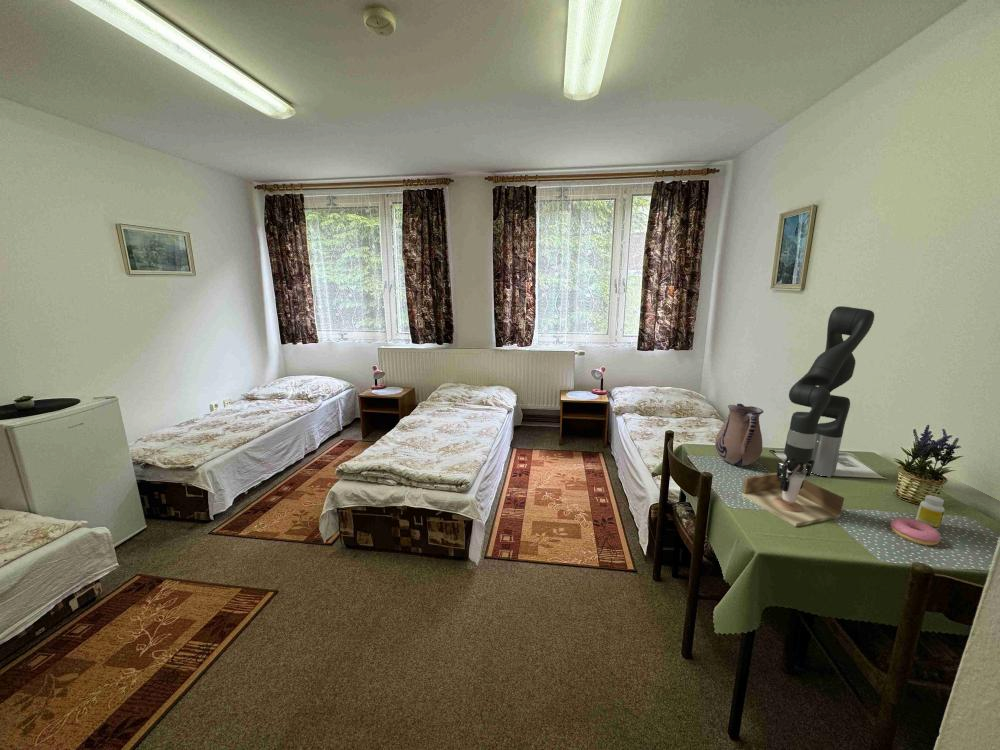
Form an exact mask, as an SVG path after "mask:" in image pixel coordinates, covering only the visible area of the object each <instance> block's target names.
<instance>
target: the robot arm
mask: <svg viewBox="0 0 1000 750" xmlns="http://www.w3.org/2000/svg"><path fill="white" fill-rule="evenodd" d="M874 322H875V313H874V311H873V310H871V309H866V308H858V307H850V306H844V305H843V306H842V305H841V306H837V307H834V308H833V310H832V311H831V313H830V315H829V317H828V321H827V330H826V331H827V332H826V345H825V351H823V352H822V353H820V354H819V355H818V356H817V357H816V359H815V360H814V362H813V363H812V365H811V367H810V369H809V370H808V372H807V373H805V374H804V375H803V376H802V377H801V378H800V379H799V380H798V381H796V382H795V384H793V385H792V387H791V388H790V389H789V391H788V399H789V400H790V402H791V403H792V404H795V405H799V406H803V407H808V408H811V409H810V410H809V411H795V412H793V413H792V415H791V419H790V424H789V428H788V431H787V435H786V440H785V445H784V450H783V453H784V455H785V456H786V458H785V460H784V461H783V462H781V461H778V462H777V466H776V473H777V478H779V479H781V485H780V489H781V490H783V491H785V492H786V491H788V488H789V481H790V478H791V476H792V477H793V476H794V475H795V474H796V472H798V473H801V474H803V475H805V480H806V478H807V477H808V478H809V477H811V475H812V474H811V472H812V473H815V474H818V475H822V476H827V477H826V478H832V477H831V476H833V475H834V476H835V474H836V470H837V467H838V461H839V457H840V448H841V444H842V439H843V433H844V429H845V424H846V421H847V418H848V415H849V412H850V408H851V400H850V398H849V397H846V396H840V395H833V394H831V392H833V391H834V390H835V389H837V388H839V387H840V386H841V387H842V386H843V385H845V384H846V383H847V382H848V381H850V380H851V378H852V377H853V375H854V372H855V369H856V368H855V367H856V358H855V356H854V354H853V352H854V351H855V350H856V349H857V348H858V346H859V345H860V344H861V343H862V341H863V340H864V338H865V337H866V336H867V335H868V333H869V332H870V330H871V328H872V326H873V325H874ZM843 335H844V336H848V337H847V338H846V339H845V340H844V338H843ZM821 417H824V418H828V419H835V420H832V421H829V422H822V423H821V422H820V418H821ZM819 422H820V423H819ZM806 469H807V470H808V471H806ZM787 470H788V471H791V473H789V472H787ZM834 473H835V474H834ZM781 474H782V475H781ZM787 474H788V477H786V476H787ZM834 476H833V477H834ZM803 482H804V480H803ZM803 482H802V485H801V487H800V489H802V486H803Z"/></svg>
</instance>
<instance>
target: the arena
mask: <svg viewBox="0 0 1000 750" xmlns="http://www.w3.org/2000/svg"><path fill="white" fill-rule="evenodd" d="M781 475H782V474H781ZM780 485H781V479H779V478H777V472H772V473H765V474H758V475H753V476H746V477H744V479H743V485H742V492H741V496H742V497H744V498H745V499H746V500H748V501H751V502H752V503H754V504H756V505H757V506H759V507H761V508H762V509H764V510H766V511H767V512H769V513H770V514H772V515H775V516H776V517H778V518H780V520H782V521H785V522H786V523H789V524H790V525H791V526H793V527H794V528H796V527H802V526H806V525H811V524H815V523H820V522H825V521H828V520H834V519H838V518H840V517H841V515H842V514H841V512H842V509H843V505H844V504H843V503H844V500H845V497H843V496H841V495H839V494H836V493H834V492H832V491H830V490H827V489H825V488H824V487H821V486H819V485H817V484H814V483H812V482H811V481H808V480H806V479H805V480H804V482H803V486H802V489H800V490H799V493H798V495H797V498H796V501H795V502H788V501H786V500H784V499H783V498H782V490H781V489H780Z"/></svg>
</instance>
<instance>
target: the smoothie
mask: <svg viewBox="0 0 1000 750" xmlns="http://www.w3.org/2000/svg"><path fill="white" fill-rule="evenodd" d="M787 472H789V473H791V471H788V469H787ZM786 477H788V474H787V476H786ZM803 480H806V479H805V475H803V474H801V473H798V472H796V474H795V475H794V476H793V477H792V476H791V478H790V481H789V488H788V491H786V492H785V491H783V490H782V498H783V499H784V500H786V501H788V502H795V501H796V498H797V495H798V493H799V490H800V487H801V485H802V482H803Z"/></svg>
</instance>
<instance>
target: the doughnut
mask: <svg viewBox="0 0 1000 750" xmlns="http://www.w3.org/2000/svg"><path fill="white" fill-rule="evenodd" d="M890 528H891V530H892V531H893V532H894V534H896V535H897V536H899V537H901V538H903V539H905V540H908V541H909V542H912V543H914V544H917V545H918V544H919V545H925V546H936V545H938V544H939V543H940V542H941V541H942V536H941V533H940V532H939V530H936V529H934V528H933V527H931V526H930V525H927V524H926V523H923V522H920V521H917V520H916V519H913V518H907V517H895V518H894V519H892V520H891V521H890Z"/></svg>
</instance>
